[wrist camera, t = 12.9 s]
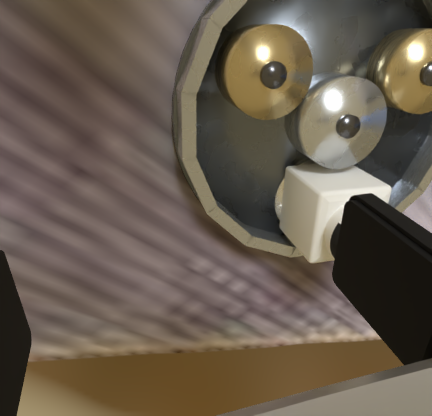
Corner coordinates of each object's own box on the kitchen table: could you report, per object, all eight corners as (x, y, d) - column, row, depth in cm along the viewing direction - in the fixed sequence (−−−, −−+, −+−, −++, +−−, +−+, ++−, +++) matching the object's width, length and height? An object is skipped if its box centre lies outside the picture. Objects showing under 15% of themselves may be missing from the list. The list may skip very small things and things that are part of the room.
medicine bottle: (336, 221, 42) (413, 286, 31) (277, 228, 40) (338, 299, 29) (348, 160, 38) (437, 210, 28) (284, 165, 37) (355, 220, 26)
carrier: (165, -83, 27) (178, -107, 22) (483, -53, 34) (547, -66, 29) (175, 255, 39) (185, 288, 35) (405, 227, 46) (440, 250, 42)
